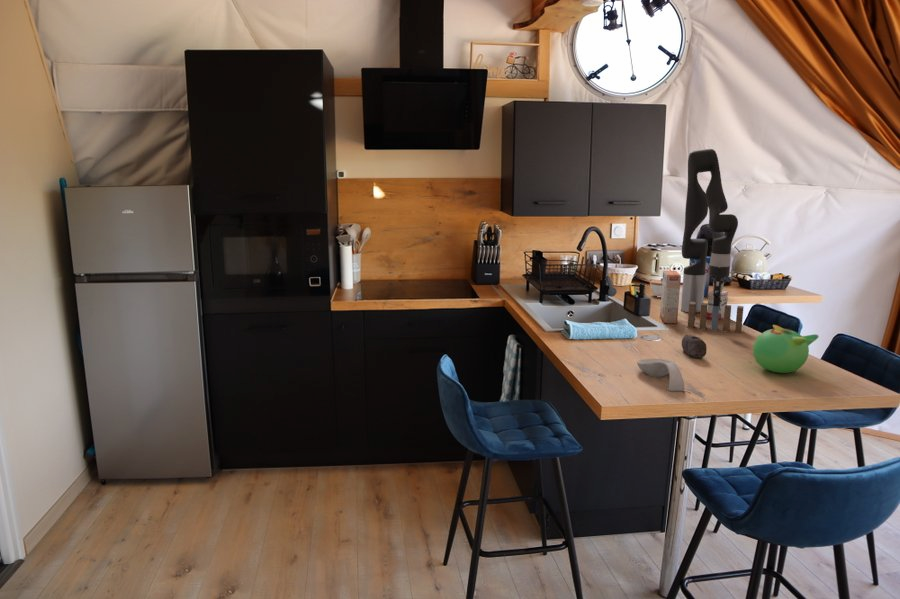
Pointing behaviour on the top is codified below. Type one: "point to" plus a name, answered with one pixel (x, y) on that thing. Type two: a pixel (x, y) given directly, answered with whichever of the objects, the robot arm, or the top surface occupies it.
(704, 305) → the domino
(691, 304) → the domino
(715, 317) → the domino
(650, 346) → the top surface
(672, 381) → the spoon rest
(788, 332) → the toy bird
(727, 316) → the domino
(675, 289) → the cracker box
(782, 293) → the top surface
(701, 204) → the robot arm
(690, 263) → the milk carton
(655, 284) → the lidded jar
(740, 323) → the domino
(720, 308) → the ink box
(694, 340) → the perforated stone tool
